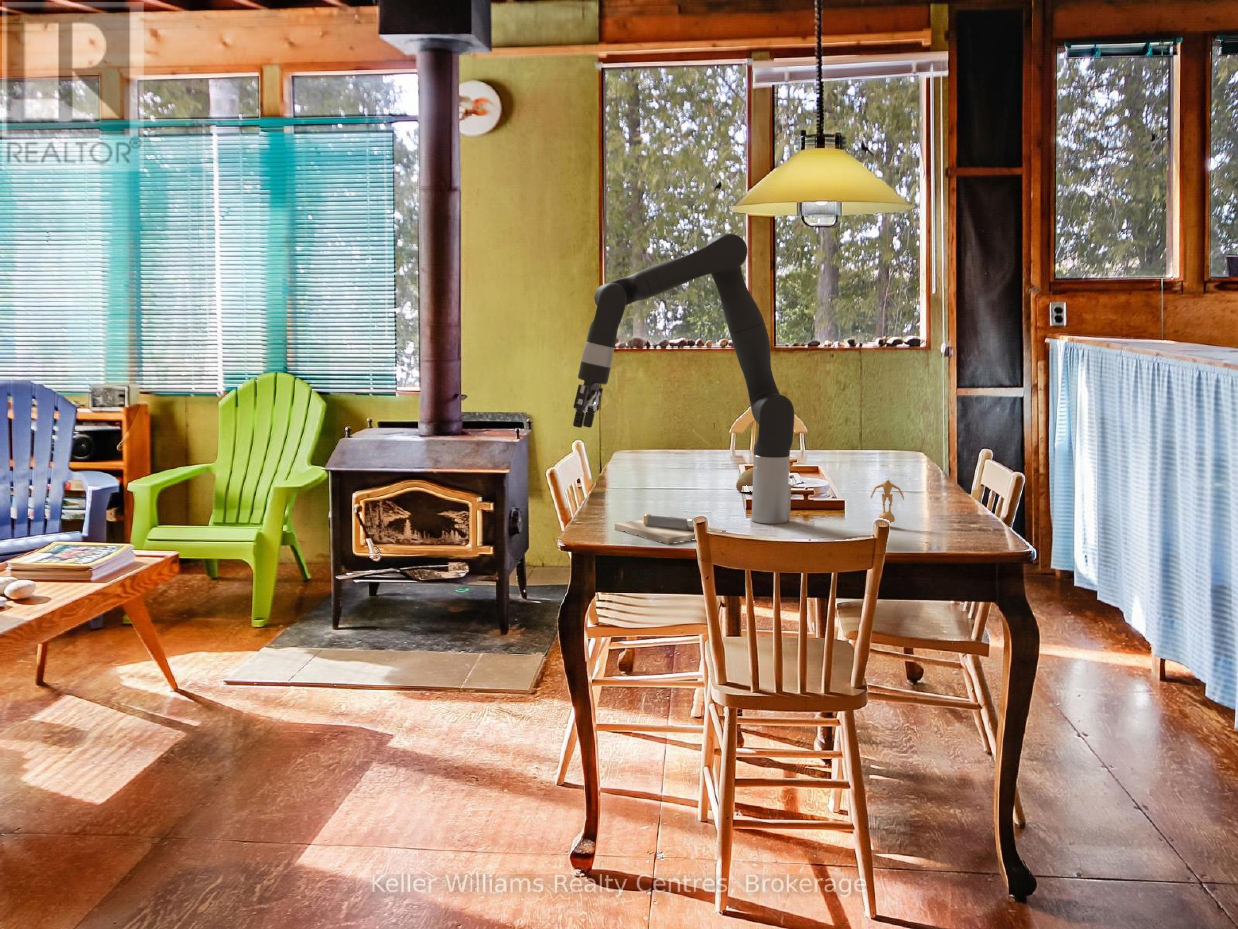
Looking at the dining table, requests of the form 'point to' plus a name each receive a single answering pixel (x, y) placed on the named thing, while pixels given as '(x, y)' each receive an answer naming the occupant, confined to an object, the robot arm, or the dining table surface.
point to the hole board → (659, 531)
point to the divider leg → (668, 522)
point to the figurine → (887, 488)
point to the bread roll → (745, 479)
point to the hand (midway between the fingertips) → (582, 427)
